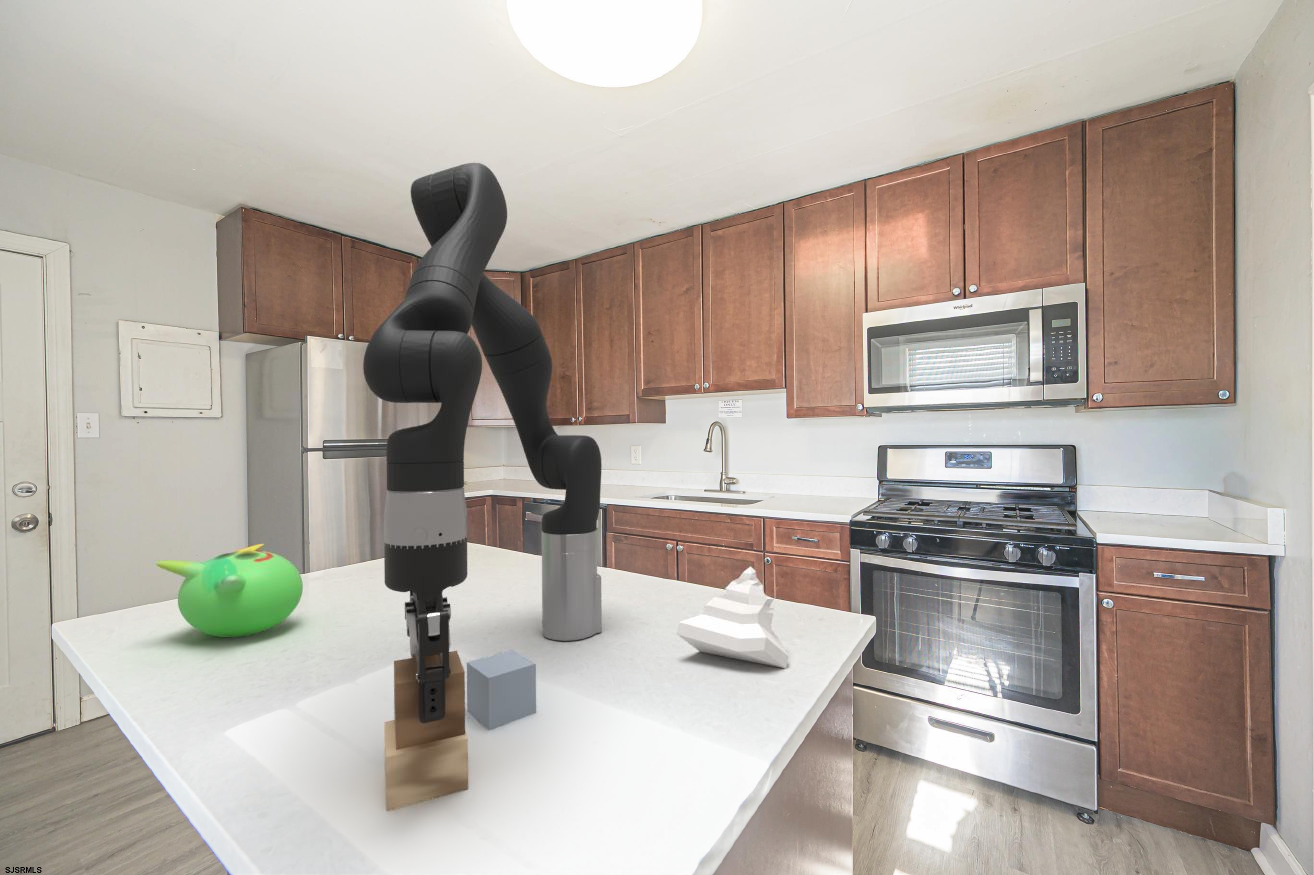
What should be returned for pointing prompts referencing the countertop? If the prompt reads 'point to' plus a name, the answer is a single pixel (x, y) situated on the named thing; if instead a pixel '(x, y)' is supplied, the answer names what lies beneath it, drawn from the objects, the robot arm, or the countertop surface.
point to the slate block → (501, 688)
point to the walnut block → (407, 703)
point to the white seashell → (737, 625)
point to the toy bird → (237, 591)
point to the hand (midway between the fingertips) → (428, 700)
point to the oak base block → (423, 769)
